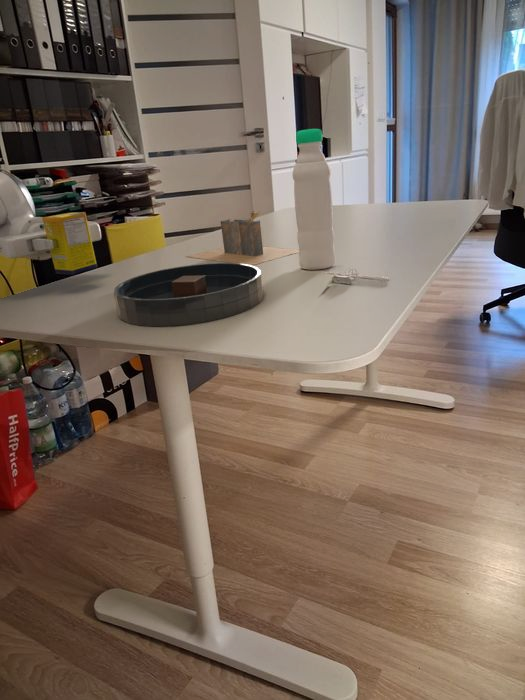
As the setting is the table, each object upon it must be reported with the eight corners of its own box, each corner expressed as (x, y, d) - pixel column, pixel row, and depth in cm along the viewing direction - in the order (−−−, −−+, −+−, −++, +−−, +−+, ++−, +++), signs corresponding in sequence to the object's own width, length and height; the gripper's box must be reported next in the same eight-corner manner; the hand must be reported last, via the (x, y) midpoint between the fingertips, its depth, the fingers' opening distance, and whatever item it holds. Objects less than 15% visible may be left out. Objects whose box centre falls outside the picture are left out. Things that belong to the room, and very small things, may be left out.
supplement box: (79, 266, 108) (67, 212, 104) (98, 268, 104) (86, 212, 100) (54, 273, 103) (41, 217, 99) (72, 274, 100) (59, 216, 96)
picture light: (391, 281, 86) (391, 269, 86) (377, 287, 84) (377, 275, 83) (324, 274, 96) (323, 263, 95) (309, 280, 93) (308, 268, 92)
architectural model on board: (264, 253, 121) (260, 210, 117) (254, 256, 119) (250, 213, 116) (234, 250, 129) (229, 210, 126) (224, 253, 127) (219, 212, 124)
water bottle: (340, 262, 104) (333, 127, 95) (329, 270, 98) (321, 127, 89) (306, 262, 107) (297, 131, 98) (294, 270, 101) (283, 132, 92)
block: (197, 306, 82) (193, 281, 80) (175, 306, 83) (171, 282, 82) (208, 299, 85) (204, 275, 84) (186, 299, 87) (183, 275, 85)
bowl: (187, 339, 69) (182, 307, 68) (90, 318, 84) (84, 291, 82) (292, 294, 85) (290, 267, 84) (195, 283, 100) (192, 260, 98)
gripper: (-18, 231, 101) (16, 233, 93) (76, 216, 116) (112, 216, 107) (-9, 263, 104) (25, 268, 95) (82, 244, 118) (118, 246, 109)
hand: (72, 240), depth 101 cm, fingers closed on supplement box, 6 cm apart
